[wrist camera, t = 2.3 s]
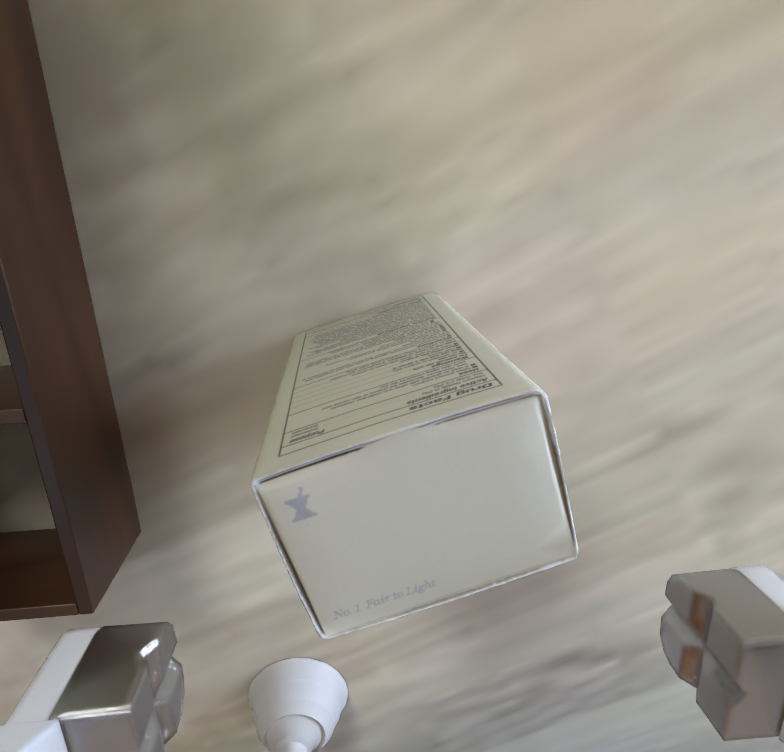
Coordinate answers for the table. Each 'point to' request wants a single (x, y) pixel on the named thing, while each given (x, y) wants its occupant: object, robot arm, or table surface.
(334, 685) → the chalice
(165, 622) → the robot arm
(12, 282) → the rack
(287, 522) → the cosmetic box
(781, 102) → the table surface
